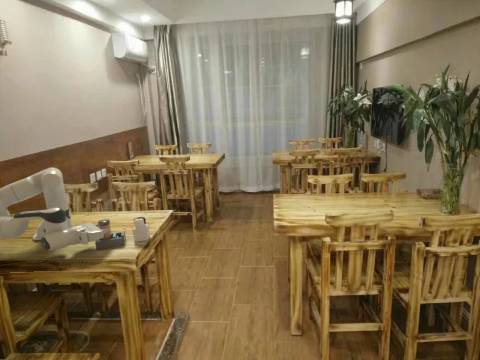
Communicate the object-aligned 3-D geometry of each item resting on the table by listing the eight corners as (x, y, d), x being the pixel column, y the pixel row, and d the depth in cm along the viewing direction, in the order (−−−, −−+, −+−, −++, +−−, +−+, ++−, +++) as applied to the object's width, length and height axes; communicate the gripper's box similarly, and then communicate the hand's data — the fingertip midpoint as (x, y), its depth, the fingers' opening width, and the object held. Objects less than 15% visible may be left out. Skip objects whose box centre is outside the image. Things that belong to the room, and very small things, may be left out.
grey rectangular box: (96, 249, 181) (94, 240, 180) (99, 242, 190) (97, 233, 189) (124, 244, 184) (123, 235, 183) (125, 238, 194) (124, 229, 192)
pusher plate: (113, 243, 184) (112, 236, 183) (115, 238, 191) (114, 232, 190) (118, 242, 185) (117, 236, 184) (119, 237, 191) (118, 231, 190)
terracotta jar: (100, 245, 183) (97, 223, 180) (102, 241, 189) (98, 220, 186) (112, 243, 184) (108, 222, 182) (113, 239, 190) (110, 218, 187)
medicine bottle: (137, 237, 194) (134, 216, 191) (150, 235, 195) (147, 215, 192) (134, 242, 187) (131, 220, 184) (147, 240, 188) (144, 219, 185)
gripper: (74, 235, 185) (100, 228, 194) (86, 245, 170) (114, 237, 178) (72, 223, 184) (98, 217, 192) (84, 233, 168) (112, 225, 177)
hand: (106, 226), depth 185 cm, fingers open, 8 cm apart
